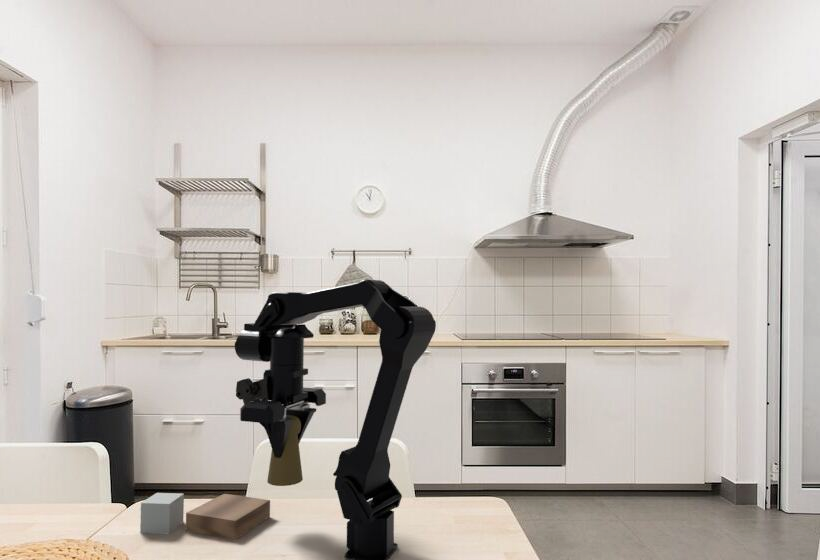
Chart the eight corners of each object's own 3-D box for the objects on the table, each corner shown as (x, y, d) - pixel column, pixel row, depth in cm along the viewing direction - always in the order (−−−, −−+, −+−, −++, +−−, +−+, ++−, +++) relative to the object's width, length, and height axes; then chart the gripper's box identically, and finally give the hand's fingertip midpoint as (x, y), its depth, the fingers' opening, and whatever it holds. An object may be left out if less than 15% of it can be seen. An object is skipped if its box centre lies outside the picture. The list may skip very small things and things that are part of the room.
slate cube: (183, 522, 97) (183, 493, 97) (168, 534, 92) (169, 503, 92) (156, 521, 97) (156, 492, 98) (140, 533, 92) (140, 503, 93)
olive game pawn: (294, 487, 92) (295, 420, 92) (260, 484, 93) (261, 419, 93) (308, 475, 98) (308, 413, 98) (276, 473, 99) (277, 412, 99)
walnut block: (269, 516, 99) (270, 500, 99) (235, 539, 90) (235, 520, 90) (223, 509, 103) (224, 493, 103) (185, 530, 93) (186, 512, 93)
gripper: (276, 356, 107) (275, 437, 107) (213, 367, 90) (211, 464, 89) (327, 359, 104) (326, 442, 103) (271, 370, 86) (270, 471, 86)
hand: (285, 453), depth 95 cm, fingers closed on olive game pawn, 4 cm apart
